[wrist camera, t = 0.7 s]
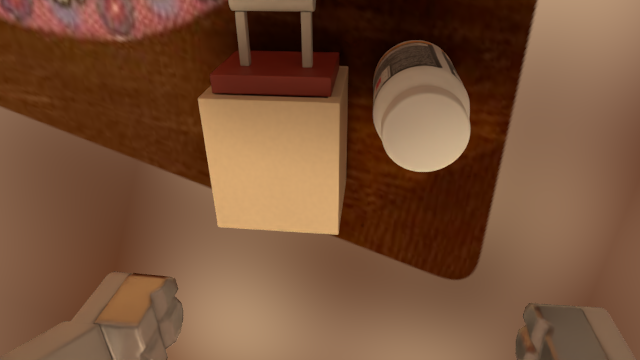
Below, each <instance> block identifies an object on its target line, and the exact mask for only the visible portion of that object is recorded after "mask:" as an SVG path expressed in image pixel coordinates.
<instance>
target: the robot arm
mask: <svg viewBox="0 0 640 360" xmlns="http://www.w3.org/2000/svg"><path fill="white" fill-rule="evenodd" d="M177 290H178V287H177V283H176V280H175V278H172V277H166V276H156V275H147V274H136V273H133V274H132V273H123V272H112V273H110V274H108V275H107V276H106V278H105V279H104V280H103V281H102V283H101V284H100V285H99V286H98V288H97V289H96V290H95V291H94V293H93V294H92V295H91V296H90V298H89V299H88V300H87V301H86V303H85V304H84V305H83V307H82V308H81V309H80V310H79V312H78V313H77V314H76V315H75V317H74V318H73V319H72V320H71V322H66V321H64V322H62V323H61V324H59V325H57V326H55V327H53V328H52V329H50V330H48V331H46V332H44V333H43V334H41V335H39V336H37V337H35V338H34V339H32V340H30V341H28V342H27V343H25V344H23V345H21V346H19V347H18V348H16V349H14V350H12V351H10V352H9V353H7V354H5V355H3V356H2V357H0V360H167V358H168V357H167V353H166V348H168V347H169V346H171V345H172V344H173V343H175V342H176V340H177V338H178V336H179V334H180V331H181V327H182V322H183V308H182V304H181V302H180V301H179V300H178V299H177V298H176V297H175V294H176V292H177ZM523 318H524V320H525V323H526V325H525V326H524V327H522V328H521V329H519V331H518V335H517V339H516V358H517V360H636V359H635V357H634V356H633V354H632V352H631V350H630V349H629V347H628V345H627V344H626V342H625V340H624V339H623V337H622V335H621V334H620V332H619V330H618V329H617V327H616V325H615V323H614V322H613V320H612V318H611V317H610V315H609V313H608V312H607V311H606V310H605V309H603V308H597V307H581V306H578V307H575V306H564V305H548V304H533V303H529V304H528V305H527V306H526V307H525V311H524V314H523Z"/></svg>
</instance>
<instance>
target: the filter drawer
mask: <svg viewBox="0 0 640 360" xmlns="http://www.w3.org/2000/svg"><path fill="white" fill-rule="evenodd" d="M228 2H229V6H230V9H231V10H232V11H235V18H236V28H237V38H238V47H239V50H237V51H235V52H234V53H233V54H232V55H231V56H230V57H229V58H228V59H227V60H225V61H224V62H223V63H222V64H221V65H220V66H219V67H218V68H217V69H215V70H214V71H213V72H212V73H211V74H210V81H211V88H212V93H224V94H242V95H246V96H278V97H310V98H328V97H331V95H332V92H333V88H334V85H335V81H336V78H337V74H338V71H339V52H313V41H312V11H315V6H316V0H228ZM247 11H302V12H301V37H302V52H295V51H250V43H249V32H248V21H247Z"/></svg>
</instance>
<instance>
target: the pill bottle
mask: <svg viewBox="0 0 640 360" xmlns="http://www.w3.org/2000/svg"><path fill="white" fill-rule="evenodd" d="M469 115H470V102H469V97H468V94H467V91H466V89H465V87H464V85H463V84H462V82H461V80H460V78H459V76H458V74H457V71H456V70H455V68H454V66H453V64H452V62H451V60H450V59H449V57H448V56H447V55H446V53H445V52H444V51H443V50H442V49H440V48H439V47H438V46H436V45H434V44H432V43H430V42H427V41H422V40H411V41H406V42H402V43H400V44H397V45H396V46H394V47H392V48H391V49H390V50H388V51H387V52H386V53H385V54H384V55H383V57H382V58H381V59H380V61H379V62H378V64H377V67H376V69H375V73H374V79H373V121H374V125H375V128H376V131H377V133H378V135H379V137H380V138H381V140H382V143H383V146H384V148H385V151H386V152H387V154H388V156H389V157H390V158H391V159H392V160H393V161H394V162H395V163H397V164H398V165H399V166H401V167H403V168H405V169H408V170H411V171H417V172H430V171H435V170H438V169H441V168H444V167H446V166H448V165H449V164H451V163H452V162H454V161H455V160H456V159H457V158H458V157H459V156H460V155H461V154H462V153H463V151H464V150H465V148H466V146H467V144H468V141H469V137H470V121H469Z"/></svg>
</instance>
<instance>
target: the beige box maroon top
mask: <svg viewBox="0 0 640 360" xmlns="http://www.w3.org/2000/svg"><path fill="white" fill-rule="evenodd" d="M198 103H199V110H200V116H201V122H202V128H203V135H204V141H205V147H206V154H207V160H208V166H209V172H210V179H211V185H212V191H213V197H214V203H215V210H216V216H217V222H218V227H228V228H243V229H258V230H274V231H289V232H305V233H320V234H335V235H338V234H339V227H340V219H341V212H342V205H343V198H344V191H345V183H346V161H347V114H348V66H339V71H338V74H337V78H336V81H335V85H334V88H333V92H332V95H331V97H328V98H310V97H278V96H246V95H242V94H224V93H212V88H211V86H210V87H209V88H208V89H207V90H206V91H205V92H204V93H203V94H202V95H201V96H200V97H199V98H198Z"/></svg>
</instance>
